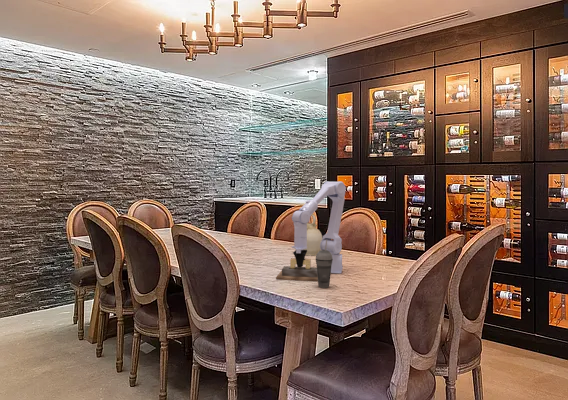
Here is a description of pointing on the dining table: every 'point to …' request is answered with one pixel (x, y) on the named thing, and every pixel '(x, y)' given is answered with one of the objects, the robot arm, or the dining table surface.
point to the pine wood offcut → (305, 262)
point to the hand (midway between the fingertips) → (300, 266)
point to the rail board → (298, 274)
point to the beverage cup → (324, 267)
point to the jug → (313, 238)
